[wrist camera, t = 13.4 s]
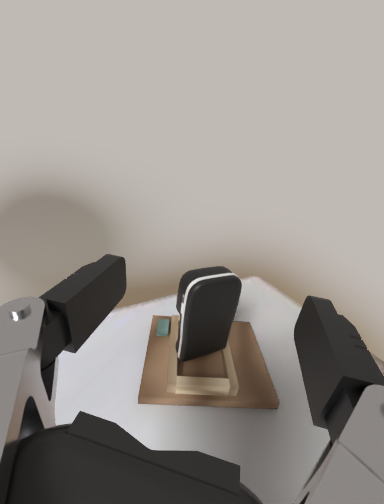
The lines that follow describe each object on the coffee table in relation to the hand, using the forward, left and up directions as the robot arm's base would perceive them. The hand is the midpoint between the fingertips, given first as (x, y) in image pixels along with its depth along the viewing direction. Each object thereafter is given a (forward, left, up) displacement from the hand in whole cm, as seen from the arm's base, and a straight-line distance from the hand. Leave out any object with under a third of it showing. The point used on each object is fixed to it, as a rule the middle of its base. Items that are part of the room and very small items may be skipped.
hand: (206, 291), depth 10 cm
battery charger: (-3, -13, -18) cm, 23 cm away
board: (-4, -14, -21) cm, 25 cm away
